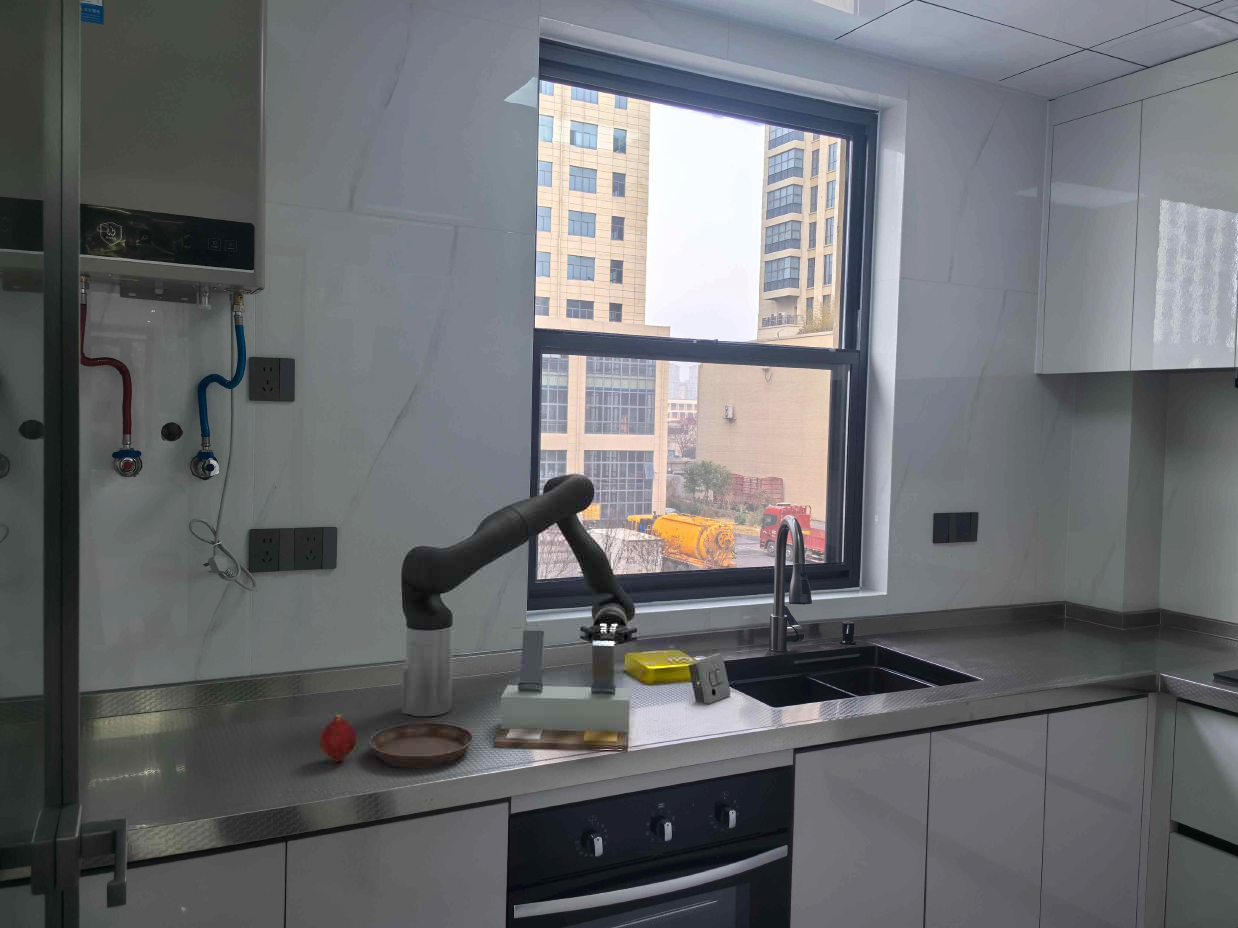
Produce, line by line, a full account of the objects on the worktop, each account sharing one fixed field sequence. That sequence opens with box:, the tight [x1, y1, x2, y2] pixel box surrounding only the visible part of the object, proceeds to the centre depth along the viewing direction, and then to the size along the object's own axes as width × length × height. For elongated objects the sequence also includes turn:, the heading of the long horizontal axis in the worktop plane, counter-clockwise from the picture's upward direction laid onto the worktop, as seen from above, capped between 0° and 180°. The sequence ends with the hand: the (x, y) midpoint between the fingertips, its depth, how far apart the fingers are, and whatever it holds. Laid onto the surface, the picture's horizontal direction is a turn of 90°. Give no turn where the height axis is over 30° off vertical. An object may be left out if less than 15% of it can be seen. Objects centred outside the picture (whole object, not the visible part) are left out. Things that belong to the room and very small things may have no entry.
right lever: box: [590, 641, 617, 693], centre depth 161 cm, size 5×2×11 cm, turn 88°
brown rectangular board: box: [493, 728, 630, 750], centre depth 161 cm, size 24×16×1 cm, turn 88°
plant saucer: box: [368, 722, 474, 769], centre depth 149 cm, size 18×18×3 cm
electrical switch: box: [688, 653, 731, 705], centre depth 186 cm, size 9×5×9 cm, turn 141°
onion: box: [319, 714, 357, 763], centre depth 145 cm, size 6×6×8 cm
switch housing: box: [500, 684, 631, 732], centre depth 164 cm, size 24×8×6 cm, turn 88°
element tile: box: [624, 649, 698, 685], centre depth 205 cm, size 15×15×5 cm
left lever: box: [518, 629, 545, 691], centre depth 165 cm, size 5×2×11 cm, turn 88°
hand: (606, 642), depth 175 cm, fingers closed
